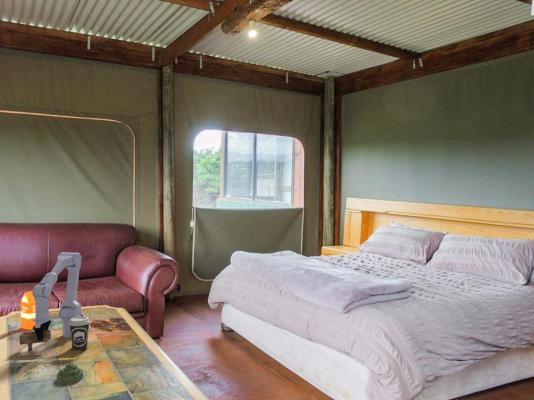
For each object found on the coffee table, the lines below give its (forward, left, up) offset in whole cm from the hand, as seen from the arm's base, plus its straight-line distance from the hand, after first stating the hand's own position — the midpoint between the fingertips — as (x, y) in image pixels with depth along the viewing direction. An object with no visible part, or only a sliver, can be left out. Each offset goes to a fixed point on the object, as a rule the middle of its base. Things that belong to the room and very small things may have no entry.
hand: (42, 338), depth 223 cm
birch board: (+3, -4, -6) cm, 8 cm away
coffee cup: (-17, -1, -7) cm, 18 cm away
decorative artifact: (-20, +33, -7) cm, 40 cm away
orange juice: (+17, -42, -7) cm, 46 cm away
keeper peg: (+5, 0, -6) cm, 9 cm away
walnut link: (+3, 0, -1) cm, 3 cm away
